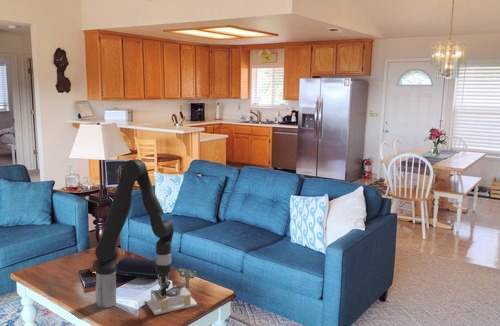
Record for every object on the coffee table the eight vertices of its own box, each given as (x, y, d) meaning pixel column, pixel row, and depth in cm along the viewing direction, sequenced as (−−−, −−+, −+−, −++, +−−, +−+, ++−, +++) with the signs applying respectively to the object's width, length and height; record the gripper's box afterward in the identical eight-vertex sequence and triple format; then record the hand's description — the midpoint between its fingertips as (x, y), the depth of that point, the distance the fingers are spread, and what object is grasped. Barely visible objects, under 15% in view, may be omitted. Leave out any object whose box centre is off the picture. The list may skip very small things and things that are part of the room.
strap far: (184, 285, 223) (183, 282, 224) (176, 288, 233) (176, 285, 233) (188, 284, 224) (187, 281, 225) (180, 287, 234) (180, 284, 234)
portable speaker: (163, 274, 260) (164, 258, 258) (158, 282, 250) (159, 265, 248) (121, 270, 262) (121, 254, 260) (115, 278, 252) (115, 261, 250)
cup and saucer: (87, 269, 262) (87, 259, 261) (109, 266, 267) (109, 256, 266) (89, 277, 252) (89, 267, 251) (111, 274, 257) (111, 264, 256)
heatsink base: (154, 314, 215) (154, 302, 214) (145, 301, 228) (145, 289, 226) (197, 305, 226) (197, 293, 225) (185, 292, 239) (186, 281, 237)
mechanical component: (195, 290, 242) (195, 272, 241) (177, 287, 244) (177, 270, 243) (196, 287, 245) (197, 270, 243) (179, 285, 247) (179, 268, 245)
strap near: (161, 299, 217) (161, 296, 217) (153, 292, 227) (153, 289, 227) (166, 298, 218) (166, 295, 218) (158, 291, 228) (158, 288, 228)
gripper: (151, 258, 219) (151, 291, 222) (160, 267, 208) (160, 302, 211) (166, 255, 223) (166, 288, 226) (175, 265, 212) (175, 299, 214)
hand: (163, 295), depth 218 cm, fingers closed
